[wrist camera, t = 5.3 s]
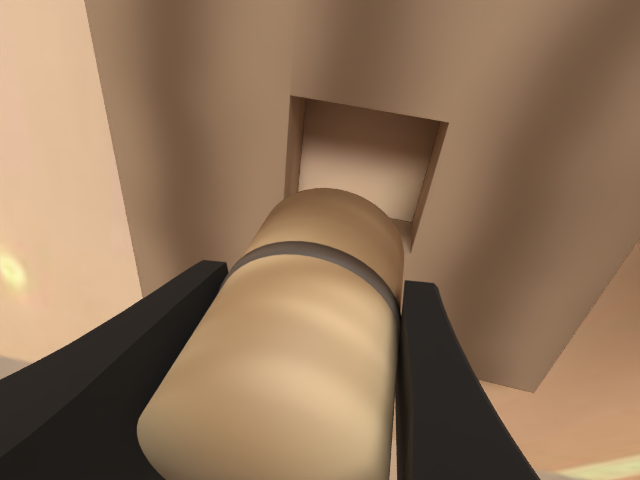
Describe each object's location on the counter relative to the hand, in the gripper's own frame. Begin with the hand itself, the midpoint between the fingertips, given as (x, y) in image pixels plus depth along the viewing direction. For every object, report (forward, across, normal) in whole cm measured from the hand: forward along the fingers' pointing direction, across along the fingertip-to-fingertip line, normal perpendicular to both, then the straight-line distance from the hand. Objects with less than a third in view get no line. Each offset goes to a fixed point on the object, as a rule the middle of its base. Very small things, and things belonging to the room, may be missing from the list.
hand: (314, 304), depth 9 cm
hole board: (+9, 0, 0) cm, 9 cm away
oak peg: (+2, 0, 0) cm, 2 cm away
